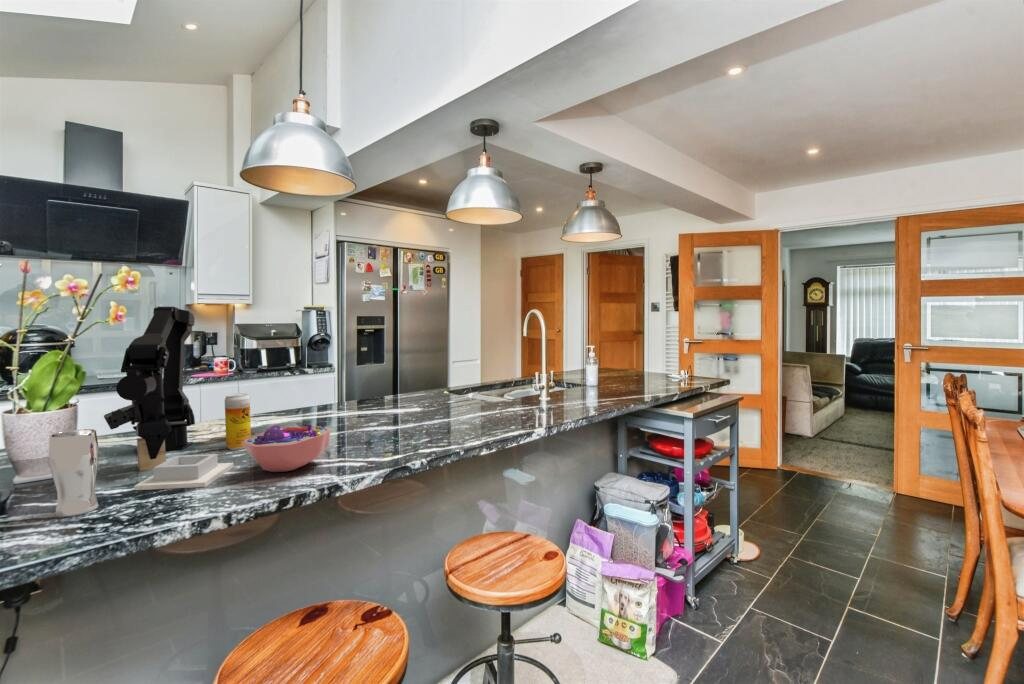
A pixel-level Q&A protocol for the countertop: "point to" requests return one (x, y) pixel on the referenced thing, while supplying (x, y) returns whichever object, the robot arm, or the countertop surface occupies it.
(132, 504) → the countertop surface
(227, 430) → the beer can
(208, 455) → the socket plate
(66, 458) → the beer glass
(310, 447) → the cell model
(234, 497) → the countertop surface
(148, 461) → the tan block
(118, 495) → the countertop surface
